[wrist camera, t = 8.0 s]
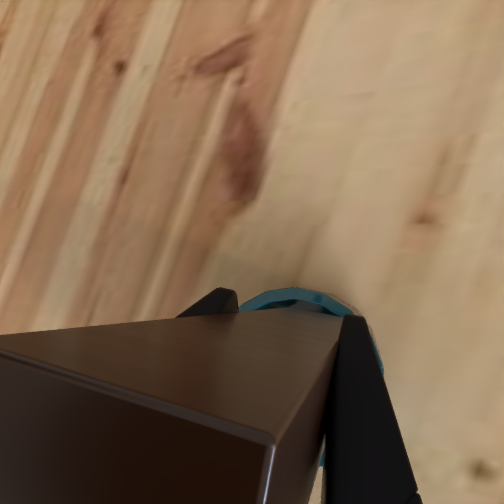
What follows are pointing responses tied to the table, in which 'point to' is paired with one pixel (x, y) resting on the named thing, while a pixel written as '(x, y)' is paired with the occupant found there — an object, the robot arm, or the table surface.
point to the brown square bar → (168, 410)
